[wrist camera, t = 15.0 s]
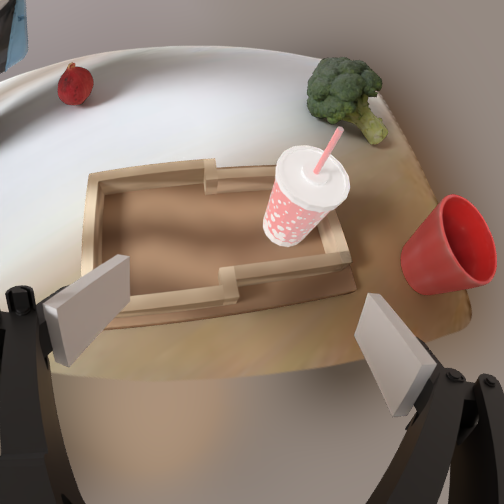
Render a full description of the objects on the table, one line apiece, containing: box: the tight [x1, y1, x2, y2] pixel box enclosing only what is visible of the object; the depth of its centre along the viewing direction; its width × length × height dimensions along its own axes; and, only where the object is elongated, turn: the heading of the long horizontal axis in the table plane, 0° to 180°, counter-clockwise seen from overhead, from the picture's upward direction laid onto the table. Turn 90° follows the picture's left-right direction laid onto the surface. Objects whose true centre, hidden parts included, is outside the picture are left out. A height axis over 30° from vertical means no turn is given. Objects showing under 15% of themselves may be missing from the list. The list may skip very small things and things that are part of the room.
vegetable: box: [307, 57, 388, 144], centre depth 36 cm, size 12×13×15 cm
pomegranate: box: [58, 62, 94, 105], centre depth 30 cm, size 6×6×8 cm
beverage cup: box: [263, 126, 350, 247], centre depth 23 cm, size 6×6×14 cm
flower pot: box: [401, 194, 497, 295], centre depth 28 cm, size 11×11×10 cm
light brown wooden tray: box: [81, 158, 357, 330], centre depth 27 cm, size 16×26×4 cm, turn 101°
